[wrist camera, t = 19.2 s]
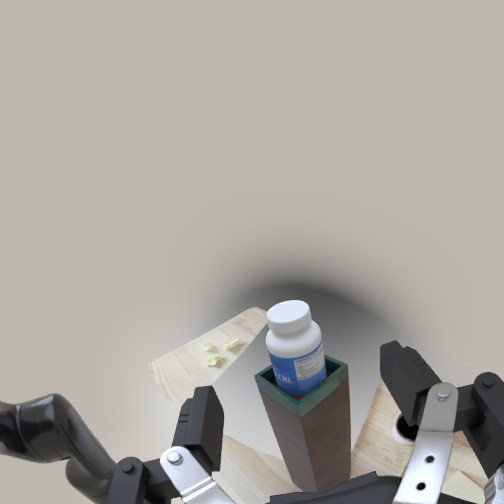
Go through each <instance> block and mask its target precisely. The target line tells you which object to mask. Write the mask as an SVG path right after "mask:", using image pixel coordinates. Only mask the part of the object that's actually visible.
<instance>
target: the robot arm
mask: <svg viewBox="0 0 504 504" xmlns="http://www.w3.org/2000/svg"><path fill="white" fill-rule="evenodd" d="M380 373H381V377H382V379H383V381H384V383H385V385H386V386H387V388H388V390H389V391H390V393H391V395H392V397H393V398H394V400H395V402H396V404H397V405H398V407H399V409H400V411H401V412H402V414H403V416H404V418H405V419H406V421H407V423H408V425H409V427H410V426H412V425H414V424H416V423H417V425H418V426H419V430H418V434H417V437H416V440H415V444H414V447H413V450H412V453H411V456H410V459H409V461H408V464H407V467H406V469H405V472H404V475H403V477H398V476H377V474H376V471H374V472H371V473H368V474H365V475H362V476H359V477H356V478H352V479H350V480H348V481H346V482H344V483H342V484H340V485H338V486H336V487H334V488H332V489H330V490H327V491H324V492H293V493H288V494H281V495H274V496H270V502H268V503H265V504H476V503H473V502H469V501H466V500H462V499H459V498H456V497H453V496H450V495H447V494H444V493H441V489H442V486H443V482H444V479H445V476H446V472H447V468H448V464H449V460H450V456H451V452H452V447H453V442H454V437H455V432H457V431H461V430H462V431H463V433H464V435H465V436H466V438H467V440H468V442H469V443H470V445H471V447H472V449H473V451H474V452H475V454H476V456H477V458H478V460H479V462H480V464H481V466H482V468H483V469H484V471H485V473H486V475H487V477H488V479H489V480H488V481H487V483H486V485H485V488H484V495H485V504H504V382H503V381H502V380H501V379H500V377H498V375H496V374H494V373H491V372H485V373H482V374H480V375H479V376H477V378H476V379H475V381H474V384H471V385H467V386H463V387H455V386H454V385H453V384H451V383H446V382H442V381H441V380H440V379H439V377H438V376H437V375H436V374H435V373H434V371H433V370H432V369H431V368H430V366H429V365H428V364H426V362H425V360H424V359H422V357H421V356H420V354H419V353H418V352H417V351H416V350H414V349H412V348H410V347H408V346H407V347H405V348H402V346H401V345H400V344H399V343H398V342H397V341H396V340H394V341H391V342H389V343H386V344H383V345H381V347H380ZM223 426H224V412H223V408H222V405H221V403H220V401H219V399H218V397H217V395H216V392H215V390H214V388H213V387H212V386H204V387H196V388H195V392H194V396H193V398H189V399H187V400H186V401H185V403H184V404H183V405H182V407H181V411H180V416H179V419H178V423H177V427H176V431H175V435H174V439H173V443H172V447H171V448H169V449H167V450H165V451H164V452H163V453H162V455H161V457H160V458H159V459H155V460H151V461H147V462H141V461H140V460H139V459H138V458H136V457H127V458H124V459H122V460H121V461H119V462H118V464H117V463H115V461H114V460H113V459H112V458H111V457H110V456H109V455H108V453H107V452H106V450H105V449H104V447H103V446H102V445H101V443H100V442H99V441H98V440H97V438H96V437H95V436H94V435H93V433H92V432H91V431H90V429H89V428H88V427H87V425H86V424H85V422H84V421H83V420H82V418H81V417H80V415H79V414H78V412H77V411H76V409H75V408H74V407H73V406H72V404H71V403H70V402H69V401H68V400H67V399H66V398H65V397H63V396H62V395H60V394H57V393H53V394H49V395H46V396H42V397H39V398H36V399H33V400H30V401H27V402H24V403H19V404H9V403H5V402H1V401H0V454H3V455H8V456H11V457H15V458H19V459H22V460H26V461H31V462H36V463H52V462H57V461H61V460H65V459H69V460H68V462H67V464H66V469H65V474H66V477H67V480H68V481H69V483H70V484H71V485H72V486H73V487H74V488H75V489H77V491H79V492H80V493H81V494H83V495H84V496H85V497H87V498H88V499H89V500H90V501H92V502H93V503H95V504H171V499H173V498H177V497H181V499H182V501H183V502H184V504H236V503H235V502H234V501H233V500H232V499H231V498H230V497H229V496H228V495H227V494H226V493H225V492H224V490H223V489H221V487H220V486H219V485H218V484H217V483H216V482H215V481H214V480H213V479H212V478H211V476H212V471H213V472H214V471H220V463H221V450H222V438H223Z"/></svg>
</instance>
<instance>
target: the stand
mask: <svg viewBox="0 0 504 504" xmlns="http://www.w3.org/2000/svg"><path fill="white" fill-rule="evenodd" d="M331 374H332V373H330V372H328V371H326V376H327V378H328V377H329V376H330V375H331ZM271 383H272V384H273V385H274V386H276V387H277V388H278V385H277V382H276V380H274V381H273V382H271ZM258 389H259V388H258ZM259 392H260V394H261V397H262V400H263V403H264V406H265V408H266V411H267V414H268V417H269V420H270V423H271V425H272V428H273V431H274V434H275V436H276V439H277V442H278V444H279V447H280V449H281V453H282V455H283V458H284V460H285V463H286V466H287V468H288V471H289V473H290V476H291V479H292V481H293V483H294V484H295V485H297V486H298V487H299V488H300V489H302V490H303V491H304V492H324V491H327V490H330V489H332V488H334V487H336V486H338V485H340V484H342V483H344V482H346V481H347V480H348V479H349V478H350V469H351V424H350V398H349V397H350V395H349V378H347V379H346V380H345V381H344V382H343V383H342V384H341V385H340V386H339V387H338V388H336V389H335V390H334V391H333V392H332V393H331V394H330V395H328V396H327V397H326V398H325V399H324V400H323V401H321V402H320V403H319V404H318V405H317V406H315V407H314V408H313V409H312V410H311V411H309V412H308V413H307V414H306V415H304V416H303V417H302V418H299V417H298V416H297V415H295V414H294V413H292V412H291V411H289V410H288V409H286V408H285V407H284V406H282V405H281V404H279V403H278V402H277V401H275V400H274V399H272V398H271V397H270V396H268V395H267V394H266V393H264V392H263V391H262V390H260V389H259ZM297 401H299V400H297Z"/></svg>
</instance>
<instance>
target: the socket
mask: <svg viewBox="0 0 504 504" xmlns="http://www.w3.org/2000/svg"><path fill="white" fill-rule="evenodd" d="M324 359H325V367H326V371H328V372H330V373H332V374H331V375H330V376H329V377H328V378H327V379H325V380H324V381H323V382H322V383H320V384H319V385H318V386H317V387H316V388H314V389H313V390H312V391H311V392H309V393H308V394H307V395H306V396H304V397H303V398H302V399H300V400H299V401H297V400H296V399H294V398H292V397H291V396H289V395H288V394H286V393H285V392H283V391H282V390H280V389H279V388H277V387H276V386H274V385H273V384H272V383H271V382H273V381H274V380H276V378H275V374H274V371H273V367H272V365H270V366H269V367H267V368H266V369H264V370H262V371H261V372H259V373H258V374H256V375H254V377H255V380H256V383H257V386H258V388H259V389H260V390H262V391H263V392H264V393H266V394H267V395H268V396H270V397H271V398H272V399H274V400H275V401H277V402H278V403H279V404H281V405H282V406H284V407H285V408H286V409H288V410H289V411H291V412H292V413H294V414H295V415H297V416H298V417H299V418H302V417H303V416H304V415H306V414H307V413H308V412H309V411H311V410H312V409H313V408H314V407H315V406H317V405H318V404H319V403H320V402H321V401H323V400H324V399H325V398H326V397H327V396H328V395H330V394H331V393H332V392H333V391H334V390H335V389H336V388H338V387H339V386H340V385H341V384H342V383H343V382H344V381H345V380H346V379H347V378H348V365H347V364H345V363H343V362H341V361H338V360H336V359H334V358H331V357H329V356H327V355H325V354H324Z"/></svg>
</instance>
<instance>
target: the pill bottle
mask: <svg viewBox="0 0 504 504" xmlns="http://www.w3.org/2000/svg"><path fill="white" fill-rule="evenodd" d="M267 320H268V325H269V328H270V330H269V331H268V333H267V336H266V345H267V349H268V353H269V356H270V359H271V363H272V367H273V371H274V374H275V378H276V382H277V385H278V388H279V389H280V390H282V391H283V392H285V393H286V394H288V395H289V396H291V397H292V398H294V399H296V400H300V399H302V398H303V397H304V396H306V395H307V394H308V393H309V392H311V391H312V390H313V389H314V388H316V387H317V386H318V385H319V384H320V383H322V382H323V381H324V380H325V379H327V376H326V367H325V359H324V352H323V345H322V338H321V332H320V328H319V326H318V325H317V324H316V323H315V322H314V321H312V320H311V314H310V309H309V306H308V304H307V303H305V302H302V301H297V300H292V301H285V302H282V303H279V304H277V305H275V306H273V307H272V308H270V309H269V311H268V312H267Z"/></svg>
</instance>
